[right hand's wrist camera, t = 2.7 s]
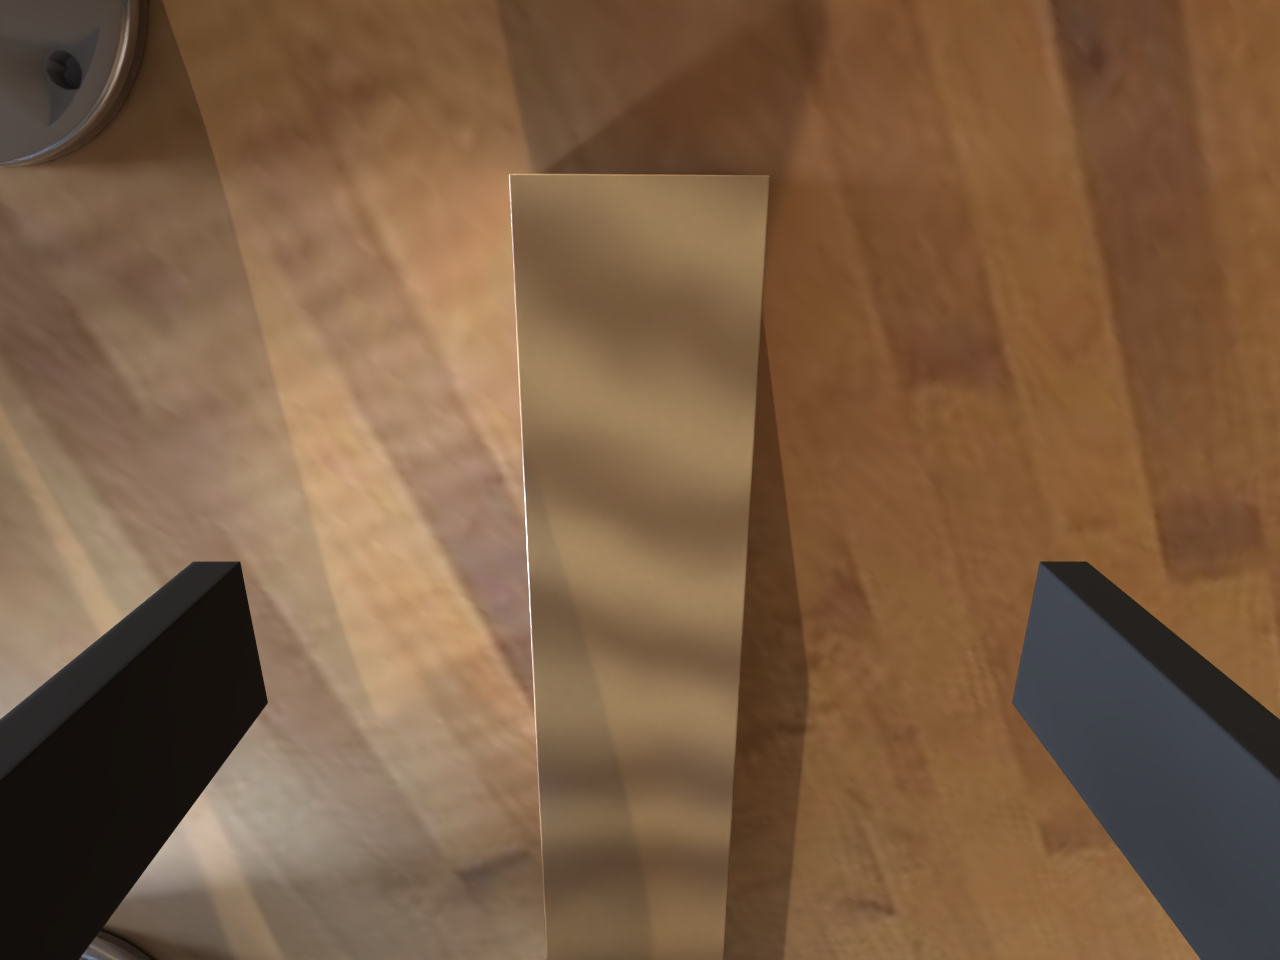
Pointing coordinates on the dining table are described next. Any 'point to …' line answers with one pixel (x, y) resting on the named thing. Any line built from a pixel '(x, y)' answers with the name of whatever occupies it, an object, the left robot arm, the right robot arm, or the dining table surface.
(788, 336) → the dining table surface
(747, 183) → the long beam
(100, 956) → the left robot arm
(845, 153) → the dining table surface
